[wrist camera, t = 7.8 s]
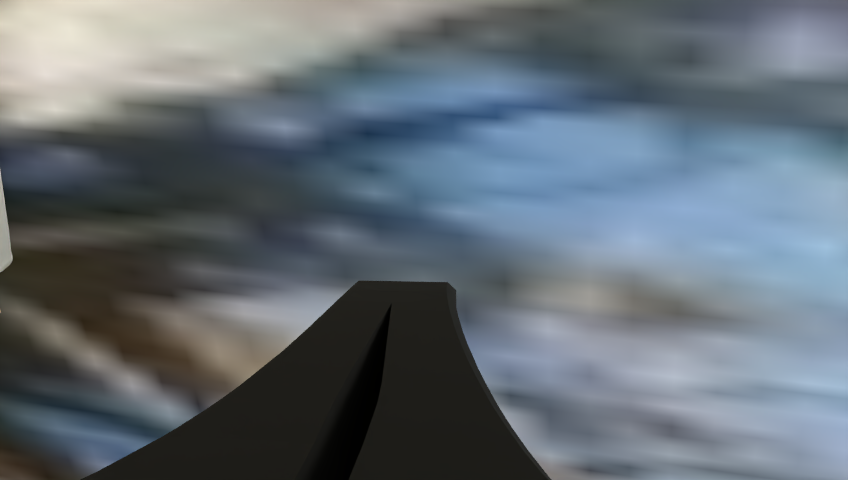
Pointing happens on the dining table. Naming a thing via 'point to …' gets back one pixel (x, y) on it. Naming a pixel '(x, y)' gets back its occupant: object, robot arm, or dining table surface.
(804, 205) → the dining table surface
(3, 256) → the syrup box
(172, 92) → the dining table surface
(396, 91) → the dining table surface
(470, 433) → the robot arm
